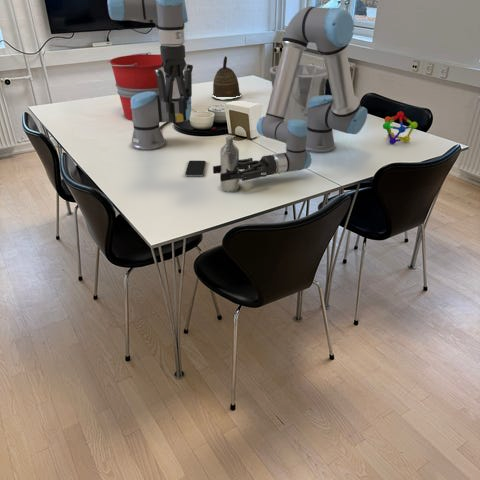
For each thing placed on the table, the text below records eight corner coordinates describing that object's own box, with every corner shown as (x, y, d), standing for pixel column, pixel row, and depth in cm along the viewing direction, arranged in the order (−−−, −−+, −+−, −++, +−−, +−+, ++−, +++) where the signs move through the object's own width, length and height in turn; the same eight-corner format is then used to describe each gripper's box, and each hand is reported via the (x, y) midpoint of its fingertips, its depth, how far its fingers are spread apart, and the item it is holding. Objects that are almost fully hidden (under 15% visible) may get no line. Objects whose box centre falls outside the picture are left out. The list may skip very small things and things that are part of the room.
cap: (174, 118, 148) (174, 112, 147) (185, 119, 148) (184, 113, 147) (170, 121, 145) (169, 116, 144) (181, 122, 144) (180, 116, 143)
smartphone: (184, 174, 176) (189, 160, 189) (184, 176, 176) (189, 161, 189) (203, 175, 176) (206, 160, 188) (203, 176, 176) (206, 162, 189)
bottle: (242, 188, 167) (242, 137, 157) (229, 193, 163) (229, 141, 153) (230, 182, 172) (229, 133, 161) (217, 188, 168) (216, 137, 157)
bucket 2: (296, 138, 215) (301, 78, 201) (255, 124, 234) (256, 68, 219) (335, 125, 232) (342, 70, 217) (294, 113, 251) (297, 61, 236)
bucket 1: (123, 105, 263) (116, 51, 247) (182, 106, 262) (179, 52, 247) (107, 123, 234) (97, 63, 218) (173, 124, 233) (168, 64, 217)
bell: (227, 105, 294) (202, 96, 282) (238, 66, 289) (213, 55, 277) (243, 108, 280) (217, 98, 268) (255, 66, 275) (229, 55, 263)
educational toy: (377, 146, 209) (379, 114, 202) (384, 138, 219) (386, 107, 211) (411, 149, 202) (415, 116, 195) (417, 141, 212) (420, 109, 204)
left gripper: (156, 49, 127) (163, 129, 139) (201, 43, 137) (204, 118, 149) (142, 46, 132) (150, 123, 144) (186, 40, 141) (190, 113, 154)
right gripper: (284, 183, 164) (227, 193, 157) (261, 164, 180) (208, 173, 172) (285, 164, 160) (226, 174, 153) (262, 146, 176) (207, 154, 168)
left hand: (177, 120), depth 146 cm, fingers closed on cap, 4 cm apart
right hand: (217, 173), depth 162 cm, fingers closed on bottle, 7 cm apart
